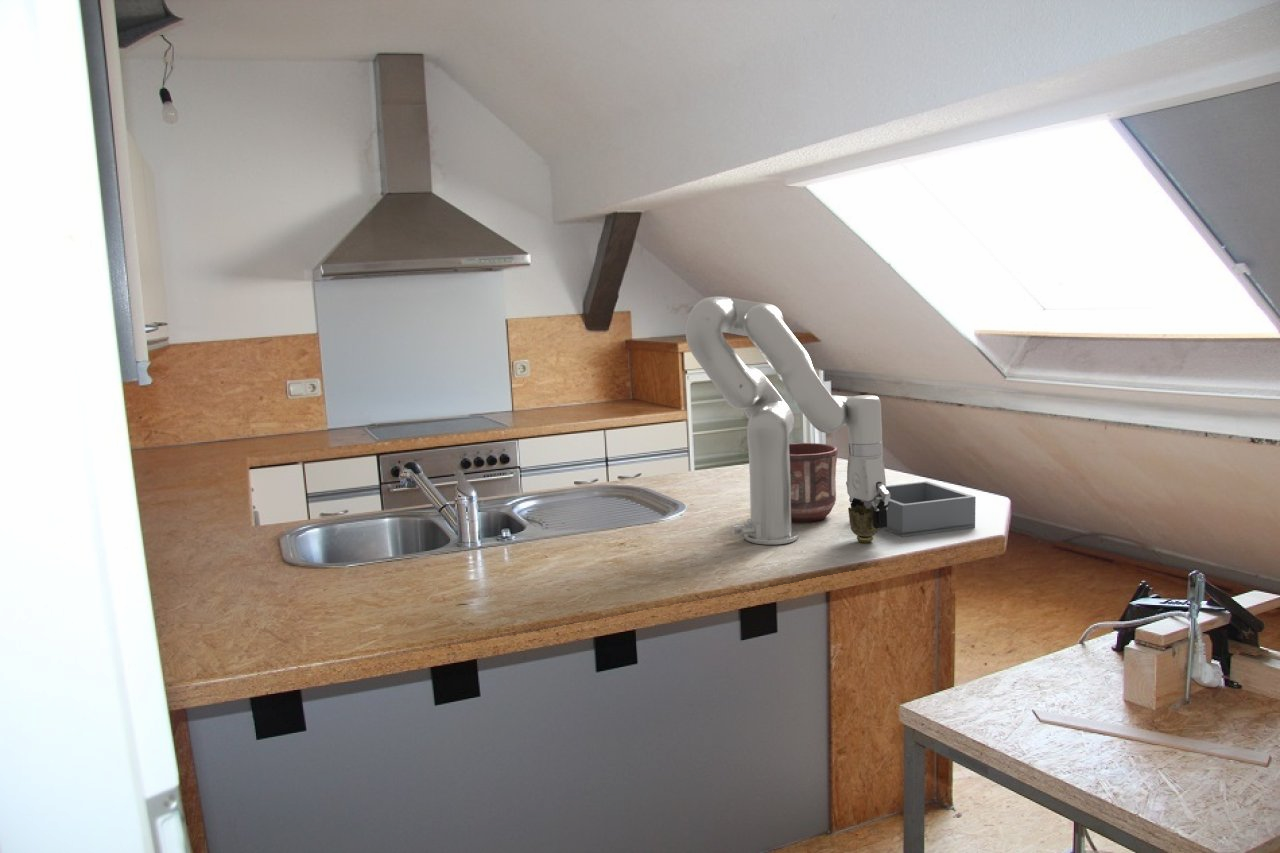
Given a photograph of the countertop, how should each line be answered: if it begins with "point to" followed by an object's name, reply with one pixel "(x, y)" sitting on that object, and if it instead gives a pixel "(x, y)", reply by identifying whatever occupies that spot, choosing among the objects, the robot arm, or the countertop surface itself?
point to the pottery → (812, 481)
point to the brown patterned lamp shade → (862, 523)
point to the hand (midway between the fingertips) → (868, 523)
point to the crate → (927, 509)
